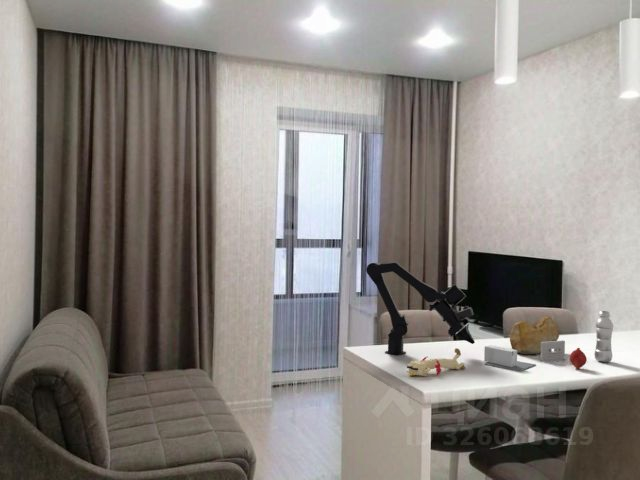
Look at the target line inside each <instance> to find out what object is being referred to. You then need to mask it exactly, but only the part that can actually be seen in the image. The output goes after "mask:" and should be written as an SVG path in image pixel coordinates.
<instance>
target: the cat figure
mask: <svg viewBox="0 0 640 480" xmlns="http://www.w3.org/2000/svg"><path fill="white" fill-rule="evenodd" d="M454 353H456V354H455V355H454V356H453V358H430V359H427V358H429V356H425V357H423V358H422V359H421V360H420V361H419V360H411V361H410V362H409V363H408V364H407V366H406V369H408V370H406V373H408V375H409V376H421V377H422V376H424V377H425V376H427V375H428V374H430V372H431V370H435V369H436V370H435V371H436V374H435V375H436V376H439V375H440V373H441V372H442V369H450V370H461V371H464V370H465V369H466V366H465V362H460V363H459V362H458V361H457V359H459V358H460V356H461V355H462V353H461V350H460V349H459V348H455V349H454Z"/></svg>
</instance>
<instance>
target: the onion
mask: <svg viewBox="0 0 640 480" xmlns="http://www.w3.org/2000/svg"><path fill="white" fill-rule="evenodd" d="M569 362H570V364H572V366H573V367H575V369H577V370H578V369H579V370H580V369H581V368H582V367H584V366H585V365H586V363H587V356H586V354H585V353H584V352H583V351H582V350H581V347H576V349H574V350H573V351H572V352H571V353H570V354H569Z"/></svg>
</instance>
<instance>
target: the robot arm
mask: <svg viewBox="0 0 640 480" xmlns="http://www.w3.org/2000/svg"><path fill="white" fill-rule="evenodd" d="M365 272H366V274H367V275H368V277H369V278H370V279H371V281H372V282H373V283H374V285H375V286H376V288H377V290H378V292H379V295H380V298H382V301H383V304H384V305H385V307H386V310H387V312H388V314H389V316H390V317H389V318H390V321H391V326H392V328H391V329H390V331H389V332H388V334H387V336H388V338H387V350H386V351H384V353H385V354H390V355H396V356H399V355H403V354H406V353H407V351H404V337H403V336H405V335H406V334H407V333H408V330H409V321H408V320H407V317H406V314H405V313H404V314H401V313H400V311H399V309H398V306H397V305H396V303H395V301H394V298H393V297H392V294H391V292H390V290H389V288H388V285H387V284H386V281H385V277H384V276H385V275H384V274H385V273H394V274H396V275H397V276H398V277H399V278H401V279H402V280H403V281H404V282H406V283H407V284H408V285H410V286H411V287H413V288H414V289H415V290H416V291H417V292H418V293H419V295H420V296H421V297H422V298H423V299H424V300H425V301H426V302H428V303H430V304H429V312H432V311H436V313H438V315H439V316H440V317H441V319H442V321H443V322H445V323H446V324H447V326H449V329H448V331H447V334H448V336H450V337H451V338H452V337H454V336H455V337H457V338H460V339H462V340H464V341H465V342H468V343H470V344H471V345H473V344H475V343H476V342H475V339H474V337H473V336H472V334H471V333H470V330H469V325H470V324H469V323H470V322H471V320H470V319H469V318H471V317H473V316H474V315H475V313H474V311H473V310H474V309H473V308H472V307H471V306H470V307H469V306H468V305H465V306H463V308H462V310H460V311H458V310H457V309H454V308H453V307H452V306H453V305H455V306H458V304H459V303H460V302H462V301H463V300H465V298H466V297H467V295H466V293H464V291H462V289H460V288H459V287H458V285H456V284H455V283H454V284H452V285H451V287H449V288H448V289H447V290H446V291H439V290H437V289H436V287H433V286H431V285H429V284H427V283H425V282H423V281H421V280H420V279H419V278H417V277H416V276H415V275H414V274H412V273H411V272H410V271H408V270H407V269H406V268H405V267H403V266H401V265H400V264H399V263H398V261H393V262H384V263H379V262H375V261H373V262H370V263H369V264H368V265H367V266H366V271H365ZM439 300H440V301H439ZM431 303H433V304H431Z"/></svg>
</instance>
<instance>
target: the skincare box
mask: <svg viewBox="0 0 640 480" xmlns="http://www.w3.org/2000/svg"><path fill="white" fill-rule="evenodd" d="M483 355H484V357H483V358H484V362H486V363H488V362H490V363H494V364H499V365H503V366H508V367H513V366H517V361H518V353H517V350H514V349H512V348H509V347H508V348H507V347H503V346H502V347H501V346H497V345H492V344H489V345H484V353H483Z"/></svg>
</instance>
